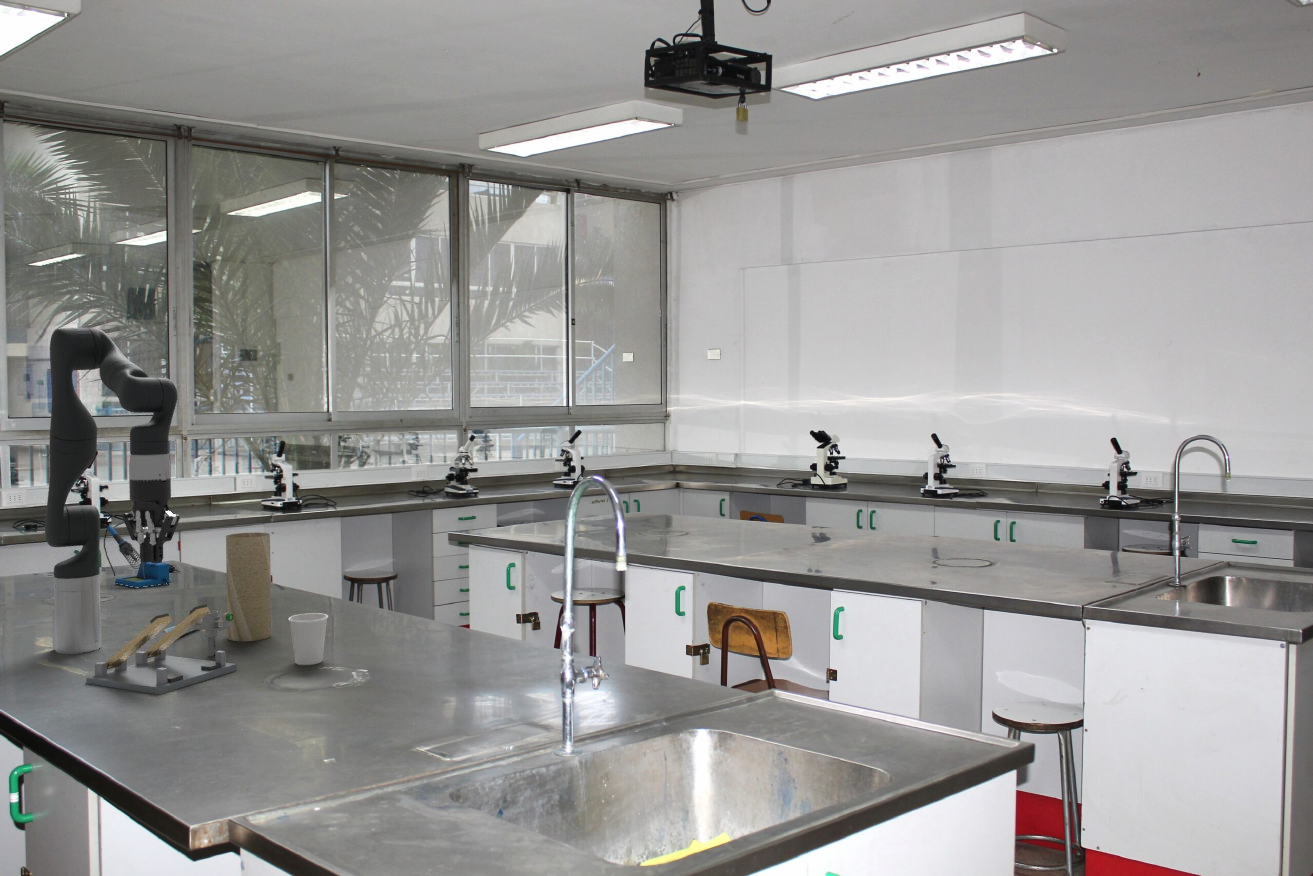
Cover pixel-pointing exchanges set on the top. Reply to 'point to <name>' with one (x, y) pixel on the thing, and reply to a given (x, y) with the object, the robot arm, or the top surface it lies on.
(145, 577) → the soldering iron
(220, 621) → the mechanical component
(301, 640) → the dixie cup
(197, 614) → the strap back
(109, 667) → the strap front
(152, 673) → the mount plate
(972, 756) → the top surface
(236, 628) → the tube
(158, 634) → the 3d printing pen
